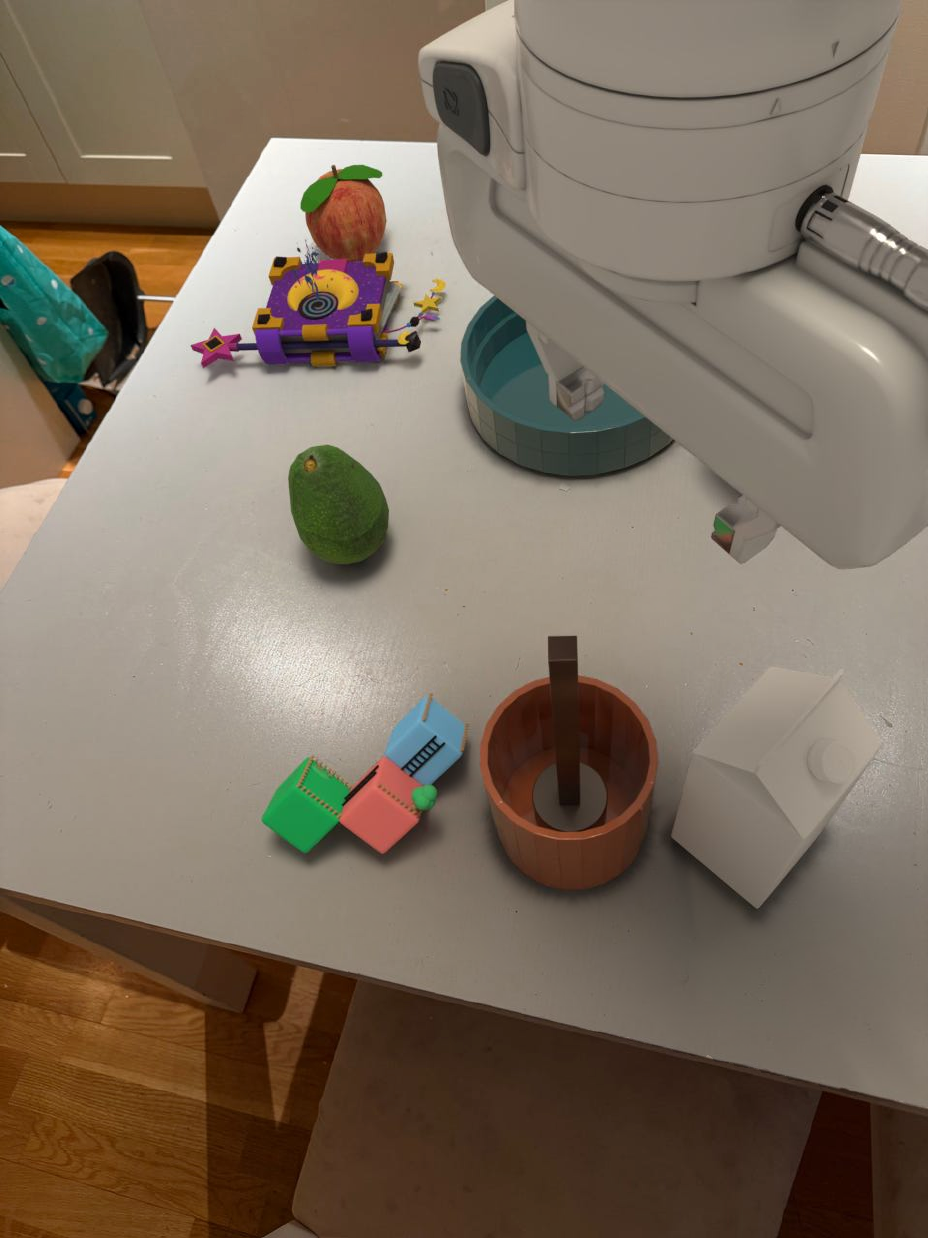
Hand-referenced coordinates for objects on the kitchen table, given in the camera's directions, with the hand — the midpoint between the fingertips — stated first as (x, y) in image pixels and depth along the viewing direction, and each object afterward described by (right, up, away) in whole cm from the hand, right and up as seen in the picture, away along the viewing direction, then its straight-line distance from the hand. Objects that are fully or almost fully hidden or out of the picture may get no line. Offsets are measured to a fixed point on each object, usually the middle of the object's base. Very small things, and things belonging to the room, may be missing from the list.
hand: (653, 469), depth 35 cm
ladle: (0, -19, +27) cm, 33 cm away
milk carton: (+12, -21, +25) cm, 35 cm away
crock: (0, -20, +27) cm, 34 cm away
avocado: (-17, 0, +42) cm, 45 cm away
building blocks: (-14, -18, +30) cm, 38 cm away
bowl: (+3, +15, +49) cm, 51 cm away
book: (-22, +24, +57) cm, 66 cm away
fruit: (-20, +35, +64) cm, 76 cm away
